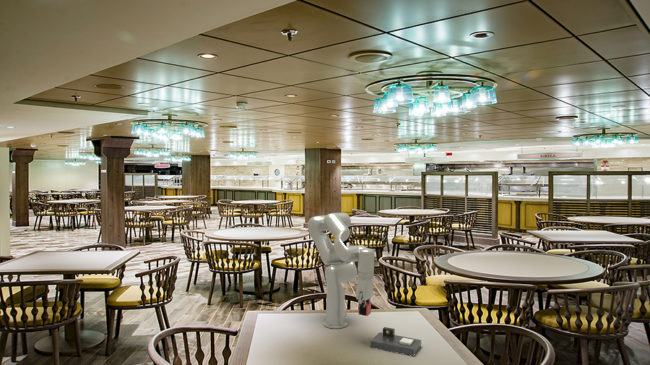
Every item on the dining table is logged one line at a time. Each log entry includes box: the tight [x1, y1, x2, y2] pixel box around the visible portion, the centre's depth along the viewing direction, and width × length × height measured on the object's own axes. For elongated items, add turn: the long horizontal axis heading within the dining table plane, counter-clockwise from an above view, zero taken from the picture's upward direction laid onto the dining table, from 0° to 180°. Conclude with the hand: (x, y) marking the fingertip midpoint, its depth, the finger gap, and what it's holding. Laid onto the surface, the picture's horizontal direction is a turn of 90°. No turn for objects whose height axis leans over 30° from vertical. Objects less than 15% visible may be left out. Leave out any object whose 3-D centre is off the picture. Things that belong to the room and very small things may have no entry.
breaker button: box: [400, 338, 414, 346], centre depth 191 cm, size 5×5×3 cm
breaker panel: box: [369, 327, 422, 356], centre depth 193 cm, size 12×20×6 cm, turn 62°
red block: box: [358, 301, 372, 317], centre depth 201 cm, size 4×4×5 cm
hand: (364, 312), depth 201 cm, fingers closed on red block, 4 cm apart
